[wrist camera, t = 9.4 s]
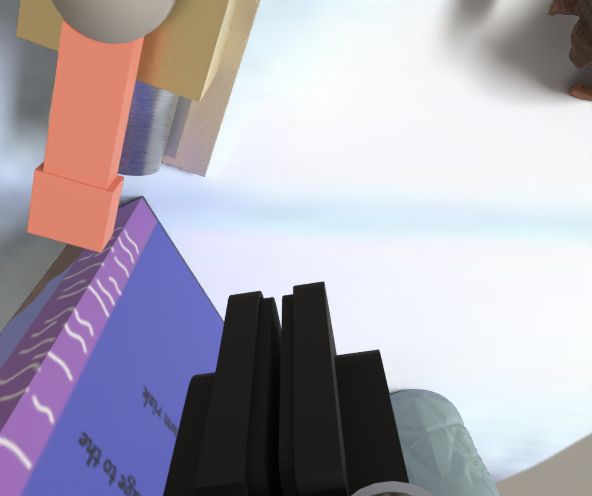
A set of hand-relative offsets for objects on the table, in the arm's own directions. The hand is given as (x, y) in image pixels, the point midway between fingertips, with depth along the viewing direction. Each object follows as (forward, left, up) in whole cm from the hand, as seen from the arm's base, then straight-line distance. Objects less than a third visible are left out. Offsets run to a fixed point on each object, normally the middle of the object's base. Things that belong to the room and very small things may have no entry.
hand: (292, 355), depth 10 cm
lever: (+1, -8, -16) cm, 18 cm away
